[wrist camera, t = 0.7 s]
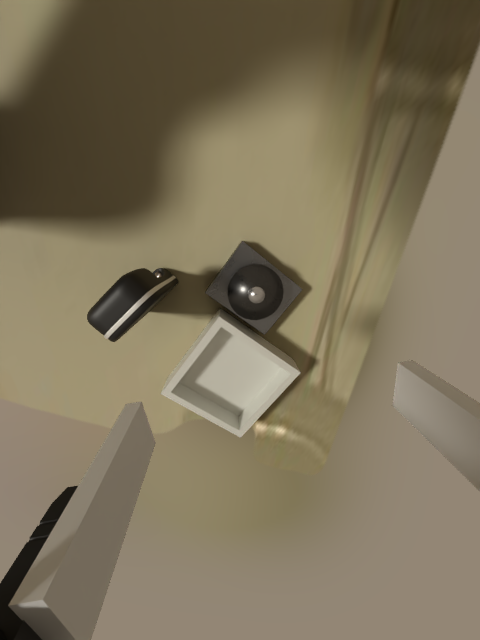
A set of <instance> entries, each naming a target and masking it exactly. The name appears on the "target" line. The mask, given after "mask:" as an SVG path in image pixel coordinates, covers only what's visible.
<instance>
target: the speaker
mask: <svg viewBox="0 0 480 640" xmlns="http://www.w3.org/2000/svg"><path fill="white" fill-rule="evenodd" d="M301 291H302V288H300V287H299V286H298V285H297V284H295V283H294V282H293V281H292V280H290V279H289V278H288V277H287V276H285V275H284V274H283V273H282V272H280V271H279V270H278V269H277V268H275V267H274V266H273V265H272V264H271V263H269V262H268V261H267V260H266V259H264V258H263V257H262V256H261V255H259V254H258V253H257V252H256V251H254V250H253V249H252V248H251V247H249V246H248V245H247V244H246V243H244V242H243V241H241V243H240V244H239V245H238V247H237V248H236V250H235V251H234V252H233V254H232V255H231V257H230V258H229V259H228V261H227V262H226V264H225V265H224V266H223V268H222V269H221V270H220V272H219V273H218V275H217V276H216V277H215V279H214V280H213V282H212V283H211V284H210V286H209V287H208V289H207V290H206V292H205V293H206V294H207V295H209V296H210V297H212V298H213V299H215V300H216V301H217V302H219V303H220V304H222V305H223V306H224V307H226V308H227V309H229V310H230V311H232V312H233V313H234V314H236V315H237V316H239V317H240V318H242V319H243V320H244V321H246V322H247V323H249V324H250V325H251V326H253V327H254V328H256V329H257V330H259V331H260V332H261V333H263V334H264V335H265V334H266V333H267V331H268V330H269V329H270V328H271V327H272V325H273V324H274V323H275V322H276V321H277V319H278V318H279V317H280V316H281V315H282V313H283V312H284V311H285V310H286V309H287V307H288V306H289V305H290V304H291V303H292V301H293V300H294V299H295V298H296V297H297V295H298V294H299V293H300V292H301Z"/></svg>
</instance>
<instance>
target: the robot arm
mask: <svg viewBox="0 0 480 640" xmlns="http://www.w3.org/2000/svg"><path fill="white" fill-rule="evenodd" d="M393 407H395V409H396V410H398V411H399V413H401V414H402V415H403V416H404V417H405V418H406V419H407V420H408V421H409V422H410V423H411V424H412V425H413V426H414V427H415V428H416V429H417V430H418V431H419V432H420V433H421V434H422V435H423V436H424V437H425V438H426V439H427V440H428V441H429V442H430V443H431V444H432V445H433V446H434V447H435V448H436V449H437V450H438V451H439V452H440V453H441V454H442V455H443V456H444V457H445V458H446V459H447V460H448V461H449V462H450V463H451V464H452V465H453V466H455V467H456V468H457V470H458V471H460V472H461V473H462V474H463V475H464V476H465V477H466V478H467V479H468V480H469V481H470V482H471V483H472V484H473V485H474V486H475V487H476V488H477V489H478V490H479V491H480V403H479V402H477V401H476V400H474V399H472V398H471V397H469V396H468V395H466V394H465V393H463V392H461V391H460V390H458V389H457V388H455V387H454V386H452V385H451V384H449V383H447V382H446V381H444V380H443V379H441V378H440V377H438V376H436V375H435V374H433V373H432V372H430V371H429V370H427V369H426V368H424V367H422V366H421V365H419V364H418V363H416V362H415V361H413V360H411V361H405V362H398V367H397V375H396V383H395V391H394V399H393ZM154 446H155V440H154V437H153V434H152V431H151V428H150V425H149V422H148V419H147V416H146V413H145V410H144V407H143V404H142V402H136V403H129V404H126V405H125V407H124V409H123V410H122V412H121V414H120V415H119V417H118V419H117V420H116V422H115V424H114V426H113V427H112V429H111V431H110V432H109V434H108V436H107V438H106V439H105V441H104V443H103V445H102V446H101V448H100V450H99V451H98V453H97V455H96V456H95V458H94V460H93V462H92V463H91V465H90V467H89V468H88V470H87V472H86V473H85V475H84V477H83V479H82V481H81V482H80V484H79V485H78V486H74V487H68V488H66V489H65V491H64V492H63V493H62V494H61V495H60V496H59V497H58V498H57V499H56V500H55V501H54V502H53V503H52V504H51V506H50V507H49V509H48V511H47V512H46V514H45V515H44V517H43V518H42V520H41V521H40V525H39V526H37V527H36V529H35V531H34V532H33V534H32V535H31V537H30V540H29V542H27V543H26V545H25V546H24V548H23V549H22V551H21V552H20V554H19V555H18V557H17V558H16V560H15V561H14V563H13V565H12V566H11V568H10V569H9V571H8V572H7V574H6V575H5V577H4V579H3V580H2V582H1V583H0V640H91V638H92V634H93V632H94V629H95V625H96V623H97V620H98V617H99V613H100V611H101V607H102V604H103V601H104V598H105V595H106V592H107V589H108V586H109V583H110V580H111V577H112V574H113V571H114V568H115V565H116V562H117V559H118V556H119V553H120V550H121V546H122V543H123V541H124V538H125V535H126V531H127V528H128V525H129V522H130V519H131V516H132V513H133V510H134V507H135V504H136V501H137V498H138V495H139V492H140V489H141V485H142V483H143V479H144V477H145V474H146V471H147V467H148V465H149V462H150V458H151V456H152V452H153V449H154Z"/></svg>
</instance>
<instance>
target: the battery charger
mask: <svg viewBox="0 0 480 640" xmlns="http://www.w3.org/2000/svg"><path fill="white" fill-rule="evenodd" d="M177 284H178V280H177V279H176V277H175V276H174V275H172V274H171V273H170V272H169V271H167V270H165V269H163V268H158V269H156V270H155V271H154V272H153V273H152V272H150V271H149V270H147V269H145V268H143V269H137V270H134V271H132V272H129V273H127V274H125V275H123V276H122V277H121V278H120V279H119V280H118V281H117V282H116V283H115V284H114V285H113V286H112V287H111V288H110V289H109V290H108V291H107V292H106V293H105V294H104V295H103V296H102V297H101V298H100V300H99V301H98V302H97V303H96V304H95V305H94V306H93V307H92V308H91V309H90V310H89V312H88V314H87V320H88V322H89V323H90V324H91V325H92V326H93V327H94V328H95V329H96V330H98V331H99V332H100V333H101V334H103V335H104V337H105V338H106V339H109V340H110V341H112V342H115V341H117V340H118V339H119V338H120V337H122V336H123V335H124V334H125V333H126V332H127V331H128V330H129V329H130V328H132V327H133V326H134V325H135V324H136V323H137V322H138V321H139V320H140V319H142V318H143V317H144V316H145V315H146V314H147V313H148V312H149V311H150V310H151V309H152V308H153V307H154V306H155V305H156V304H157V303H158V302H159V301H160V300H162V299H163V298H164V297H165V296H166V295H167V294H168V293H169V292H170V291H171V290H172V289H173V288H174V287H175V286H176V285H177Z"/></svg>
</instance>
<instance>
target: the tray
mask: <svg viewBox="0 0 480 640" xmlns="http://www.w3.org/2000/svg"><path fill="white" fill-rule="evenodd" d="M300 373H301V372H300V370H299V368H298V367H297V365H296V363H295V361H294V360H293V359H292V358H291V357H290V356H288V355H287V354H285V353H284V352H282V351H281V350H280V349H278V348H277V347H275V346H274V345H272V344H271V343H270V342H268V341H267V340H265V339H264V338H262V337H261V336H260V335H258V334H257V333H255V332H254V331H252V330H251V329H249V328H248V327H247V326H245V325H244V324H242V323H241V322H239V321H238V320H237V319H235V318H234V317H232V316H231V315H229V314H228V313H227V312H225V311H224V310H222V309H221V308H220V309H219V310H218V311H217V313H216V314H215V315H214V317H213V318H212V319H211V321H210V322H209V323H208V325H207V326H206V327H205V329H204V330H203V331H202V333H201V334H200V335H199V337H198V338H197V339H196V341H195V342H194V343H193V345H192V346H191V347H190V349H189V350H188V351H187V353H186V354H185V355H184V357H183V358H182V359H181V361H180V362H179V363H178V365H177V366H176V367H175V369H174V370H173V371H172V373H171V374H170V375H169V377H168V378H167V380H166V383H165V385H164V387H163V390H162V392H161V394H162V395H164V396H166V397H167V398H169V399H171V400H173V401H175V402H176V403H178V404H180V405H182V406H184V407H186V408H187V409H189V410H191V411H193V412H195V413H197V414H198V415H200V416H202V417H204V418H206V419H208V420H209V421H211V422H213V423H215V424H217V425H218V426H220V427H222V428H224V429H226V430H228V431H229V432H231V433H233V434H235V435H237V436H239V437H241V436H242V435H243V434H244V433H245V432H246V431H247V430H248V429H249V428H250V427H251V426H252V425H253V424H254V423H255V422H256V420H257V419H258V418H259V417H260V416H261V415H262V414H263V413H264V412H265V411H266V410H267V409H268V408H269V406H270V405H271V404H272V403H273V402H274V401H275V400H276V399H277V398H278V397H279V396H280V395H281V394H282V392H283V391H284V390H285V389H286V388H287V387H288V386H289V385H290V384H291V383H292V382H293V381H294V380H295V378H296V377H297V376H298V375H299V374H300Z"/></svg>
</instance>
